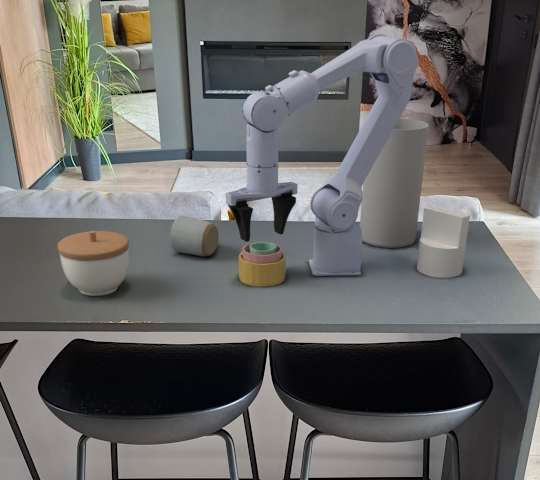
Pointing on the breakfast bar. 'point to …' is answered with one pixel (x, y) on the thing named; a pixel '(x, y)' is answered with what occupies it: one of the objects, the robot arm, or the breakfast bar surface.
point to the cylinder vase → (395, 188)
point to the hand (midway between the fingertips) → (262, 236)
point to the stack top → (261, 258)
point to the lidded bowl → (95, 261)
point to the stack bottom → (262, 272)
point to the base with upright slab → (442, 242)
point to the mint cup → (263, 248)
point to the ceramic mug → (193, 236)
